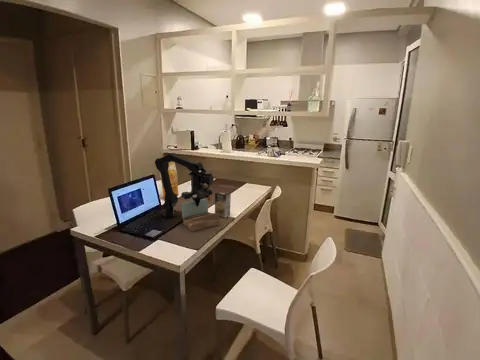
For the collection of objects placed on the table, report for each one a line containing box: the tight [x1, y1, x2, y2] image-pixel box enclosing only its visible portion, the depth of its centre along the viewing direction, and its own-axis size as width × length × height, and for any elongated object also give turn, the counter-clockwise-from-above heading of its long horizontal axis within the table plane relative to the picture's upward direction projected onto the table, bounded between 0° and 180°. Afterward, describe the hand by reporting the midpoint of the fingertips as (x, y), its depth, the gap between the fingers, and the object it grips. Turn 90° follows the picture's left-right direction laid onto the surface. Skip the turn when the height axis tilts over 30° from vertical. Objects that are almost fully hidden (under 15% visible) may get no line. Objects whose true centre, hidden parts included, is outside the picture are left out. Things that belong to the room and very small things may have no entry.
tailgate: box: [181, 198, 209, 220], centre depth 174 cm, size 2×18×10 cm, turn 125°
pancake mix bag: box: [158, 161, 179, 201], centre depth 213 cm, size 7×19×28 cm, turn 147°
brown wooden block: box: [182, 212, 220, 232], centre depth 168 cm, size 14×18×8 cm
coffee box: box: [214, 190, 232, 219], centre depth 182 cm, size 9×6×16 cm
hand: (197, 206), depth 170 cm, fingers closed
